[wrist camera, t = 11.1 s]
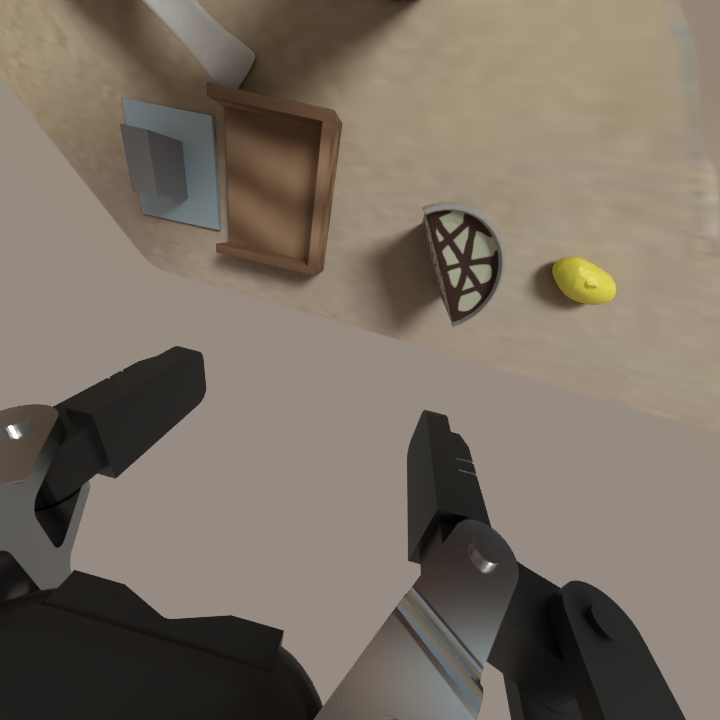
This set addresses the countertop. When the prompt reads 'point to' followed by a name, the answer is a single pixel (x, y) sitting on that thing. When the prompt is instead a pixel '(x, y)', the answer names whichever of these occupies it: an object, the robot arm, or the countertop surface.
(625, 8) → the countertop surface
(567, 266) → the lemon
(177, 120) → the cover plate
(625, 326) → the countertop surface
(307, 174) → the open-fronted box
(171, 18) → the spoon rest
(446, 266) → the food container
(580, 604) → the robot arm
